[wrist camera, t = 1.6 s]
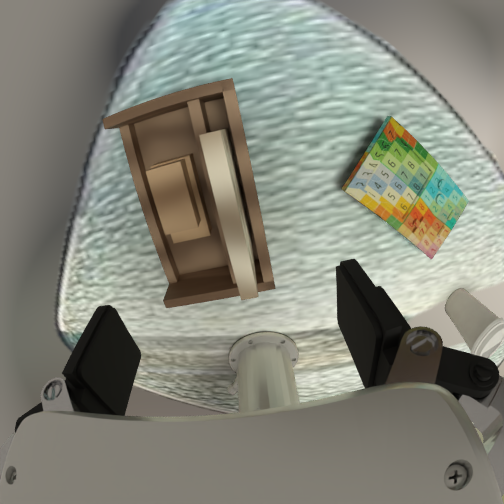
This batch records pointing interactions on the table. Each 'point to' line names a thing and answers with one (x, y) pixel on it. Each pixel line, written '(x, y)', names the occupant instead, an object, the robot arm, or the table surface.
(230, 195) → the birch sheet
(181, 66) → the table surface
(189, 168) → the tan wooden block
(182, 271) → the walnut rack
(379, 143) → the puzzle game
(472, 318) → the coffee cup
